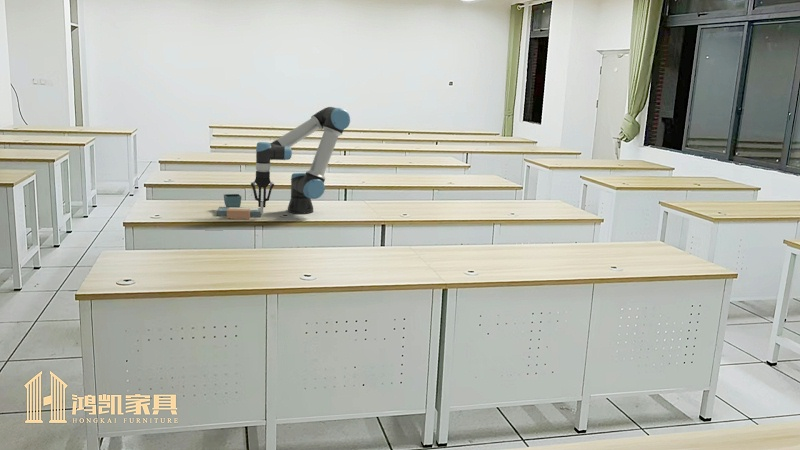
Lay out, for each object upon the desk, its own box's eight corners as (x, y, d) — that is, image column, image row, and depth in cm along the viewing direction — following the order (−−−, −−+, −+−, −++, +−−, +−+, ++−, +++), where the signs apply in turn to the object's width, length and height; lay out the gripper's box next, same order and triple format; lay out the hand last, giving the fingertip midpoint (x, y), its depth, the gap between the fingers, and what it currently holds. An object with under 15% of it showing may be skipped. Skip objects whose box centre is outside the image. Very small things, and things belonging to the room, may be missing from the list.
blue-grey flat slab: (262, 213, 388) (262, 207, 388) (260, 217, 378) (261, 211, 377) (219, 212, 385) (219, 206, 384) (216, 215, 374) (216, 210, 373)
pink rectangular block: (249, 216, 376) (250, 208, 375) (249, 219, 370) (249, 210, 369) (227, 216, 374) (227, 207, 373) (226, 218, 369) (226, 210, 368)
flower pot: (223, 209, 393) (223, 194, 391) (238, 208, 397) (238, 193, 395) (226, 212, 385) (226, 196, 384) (241, 211, 389) (241, 196, 387)
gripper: (275, 170, 372) (273, 212, 377) (251, 169, 370) (250, 211, 375) (274, 172, 365) (273, 214, 369) (250, 171, 363) (249, 213, 367)
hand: (261, 212), depth 372 cm, fingers closed
